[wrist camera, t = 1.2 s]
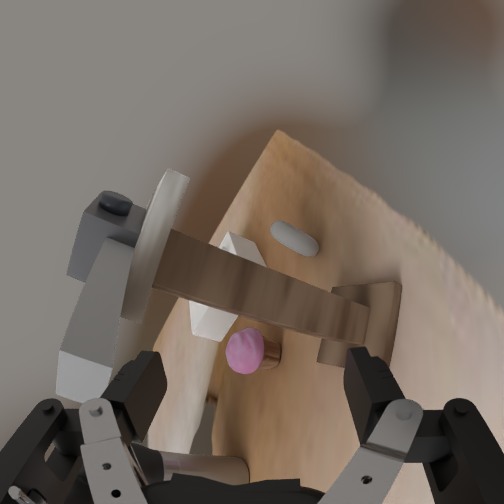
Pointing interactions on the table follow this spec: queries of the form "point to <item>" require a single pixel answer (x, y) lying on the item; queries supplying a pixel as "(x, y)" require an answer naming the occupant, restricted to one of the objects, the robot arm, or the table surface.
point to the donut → (294, 238)
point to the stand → (254, 286)
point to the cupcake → (252, 351)
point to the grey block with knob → (98, 294)
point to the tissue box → (214, 320)
